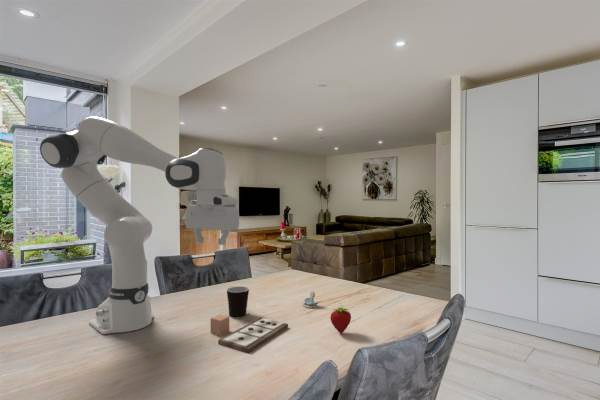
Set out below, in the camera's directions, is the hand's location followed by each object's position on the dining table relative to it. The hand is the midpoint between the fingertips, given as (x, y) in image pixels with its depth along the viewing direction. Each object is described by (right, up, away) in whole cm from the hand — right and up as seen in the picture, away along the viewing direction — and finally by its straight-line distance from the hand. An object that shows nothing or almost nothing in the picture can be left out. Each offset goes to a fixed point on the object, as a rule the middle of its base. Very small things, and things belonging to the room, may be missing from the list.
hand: (210, 243), depth 99 cm
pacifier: (+32, -32, +36) cm, 58 cm away
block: (+1, -31, +8) cm, 32 cm away
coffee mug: (+4, -32, +26) cm, 41 cm away
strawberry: (+42, -32, +8) cm, 53 cm away
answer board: (+13, -31, +6) cm, 34 cm away
